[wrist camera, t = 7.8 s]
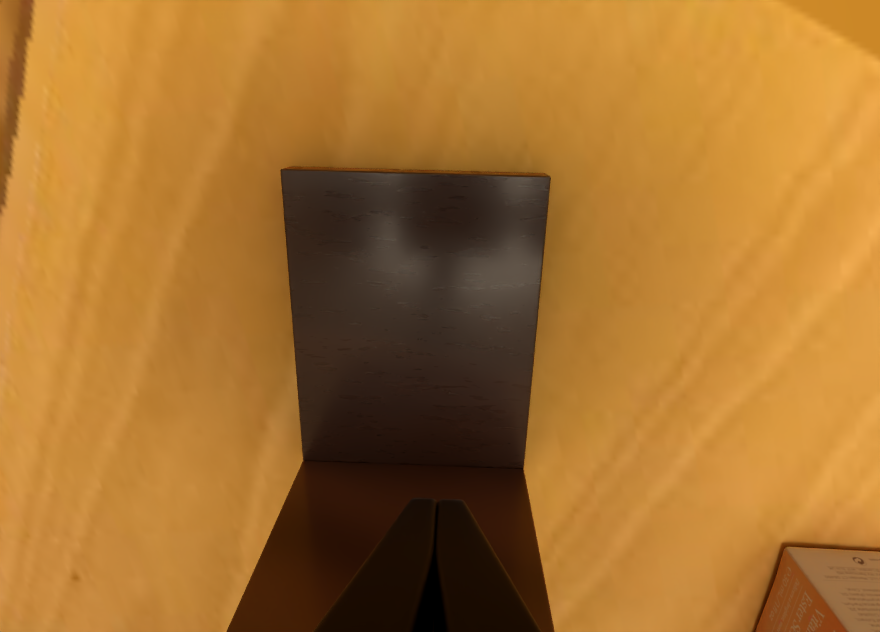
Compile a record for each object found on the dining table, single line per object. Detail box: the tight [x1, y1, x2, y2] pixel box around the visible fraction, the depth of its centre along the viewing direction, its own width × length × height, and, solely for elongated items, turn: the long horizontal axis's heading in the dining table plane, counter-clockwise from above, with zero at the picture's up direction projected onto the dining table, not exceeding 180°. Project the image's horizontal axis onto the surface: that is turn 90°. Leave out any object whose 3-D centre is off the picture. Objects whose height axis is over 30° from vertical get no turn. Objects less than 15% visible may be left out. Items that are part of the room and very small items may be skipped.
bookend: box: [227, 167, 554, 632], centre depth 16 cm, size 11×9×12 cm
